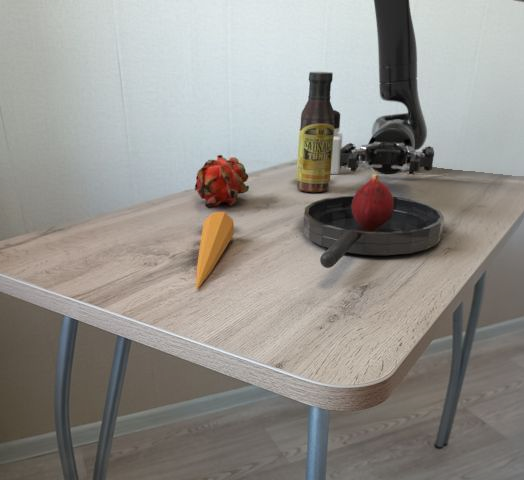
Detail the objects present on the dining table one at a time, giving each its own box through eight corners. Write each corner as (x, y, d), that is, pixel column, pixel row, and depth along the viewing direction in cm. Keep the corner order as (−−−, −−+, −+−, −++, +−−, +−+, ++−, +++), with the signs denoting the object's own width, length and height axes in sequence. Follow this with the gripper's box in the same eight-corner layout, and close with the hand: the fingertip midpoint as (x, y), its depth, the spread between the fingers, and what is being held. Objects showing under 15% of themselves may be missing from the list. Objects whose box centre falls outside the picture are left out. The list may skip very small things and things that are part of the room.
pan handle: (345, 240, 71) (346, 227, 70) (359, 242, 70) (360, 228, 69) (317, 268, 62) (318, 253, 62) (332, 271, 62) (333, 255, 61)
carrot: (213, 241, 80) (199, 213, 78) (241, 230, 79) (228, 202, 76) (187, 313, 64) (169, 281, 61) (222, 301, 62) (204, 268, 60)
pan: (449, 225, 83) (452, 202, 82) (426, 268, 68) (430, 240, 66) (328, 212, 90) (329, 190, 89) (283, 247, 75) (283, 222, 73)
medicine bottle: (340, 167, 121) (344, 108, 115) (338, 174, 115) (342, 112, 109) (308, 166, 122) (310, 108, 116) (304, 173, 116) (306, 112, 110)
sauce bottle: (300, 194, 100) (303, 73, 91) (293, 186, 106) (295, 71, 96) (334, 193, 101) (342, 72, 92) (326, 185, 107) (332, 70, 97)
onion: (395, 237, 77) (402, 178, 73) (354, 238, 76) (359, 179, 72) (384, 225, 82) (390, 169, 78) (346, 226, 81) (350, 170, 77)
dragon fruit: (245, 204, 101) (210, 231, 92) (209, 173, 101) (171, 198, 92) (266, 169, 95) (231, 195, 86) (229, 136, 94) (190, 159, 86)
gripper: (351, 122, 94) (335, 136, 81) (437, 125, 91) (436, 140, 77) (348, 167, 98) (333, 188, 85) (431, 171, 95) (428, 194, 81)
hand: (382, 165), depth 81 cm, fingers open, 8 cm apart
